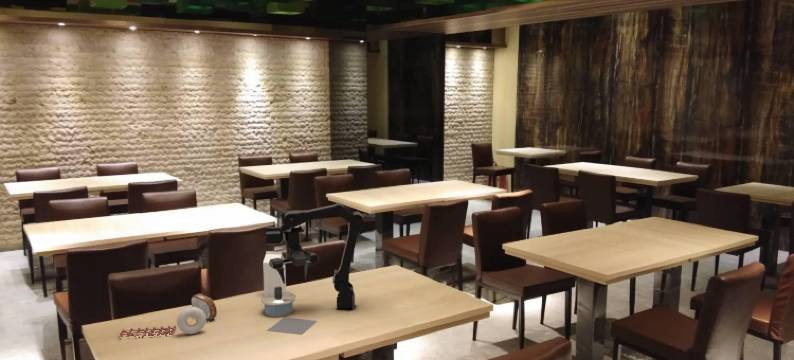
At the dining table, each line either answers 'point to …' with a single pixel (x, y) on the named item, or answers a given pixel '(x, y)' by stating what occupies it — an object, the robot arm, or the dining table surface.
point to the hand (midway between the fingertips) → (295, 281)
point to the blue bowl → (278, 310)
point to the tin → (204, 305)
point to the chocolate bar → (150, 333)
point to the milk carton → (272, 273)
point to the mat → (292, 325)
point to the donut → (188, 313)
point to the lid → (278, 297)
